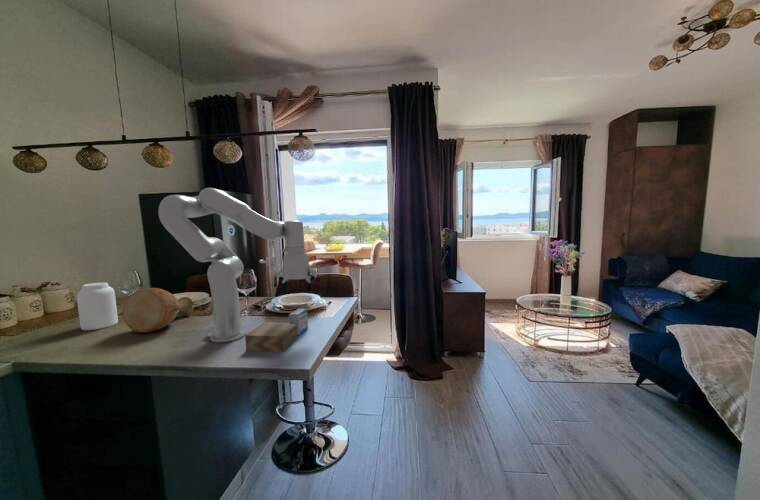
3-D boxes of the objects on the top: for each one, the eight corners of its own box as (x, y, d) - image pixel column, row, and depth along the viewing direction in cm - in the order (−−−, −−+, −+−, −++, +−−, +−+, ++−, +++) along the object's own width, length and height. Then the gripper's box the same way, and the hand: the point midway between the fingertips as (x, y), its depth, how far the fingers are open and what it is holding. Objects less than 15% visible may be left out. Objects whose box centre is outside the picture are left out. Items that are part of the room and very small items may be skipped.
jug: (99, 310, 116) (156, 299, 146) (128, 347, 115) (179, 328, 145) (139, 279, 116) (187, 275, 146) (168, 316, 116) (210, 304, 146)
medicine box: (299, 335, 115) (298, 314, 114) (289, 334, 116) (288, 314, 115) (308, 328, 123) (307, 308, 122) (298, 327, 124) (297, 308, 123)
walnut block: (246, 351, 102) (245, 335, 102) (263, 338, 114) (262, 323, 114) (283, 352, 100) (282, 336, 100) (297, 339, 112) (296, 324, 112)
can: (100, 330, 126) (94, 286, 124) (72, 331, 126) (66, 286, 124) (125, 321, 139) (121, 280, 137) (100, 321, 139) (95, 281, 137)
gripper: (270, 252, 114) (274, 294, 115) (312, 251, 112) (315, 294, 113) (279, 250, 121) (282, 290, 123) (318, 249, 119) (321, 289, 121)
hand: (298, 292), depth 118 cm, fingers open, 9 cm apart
